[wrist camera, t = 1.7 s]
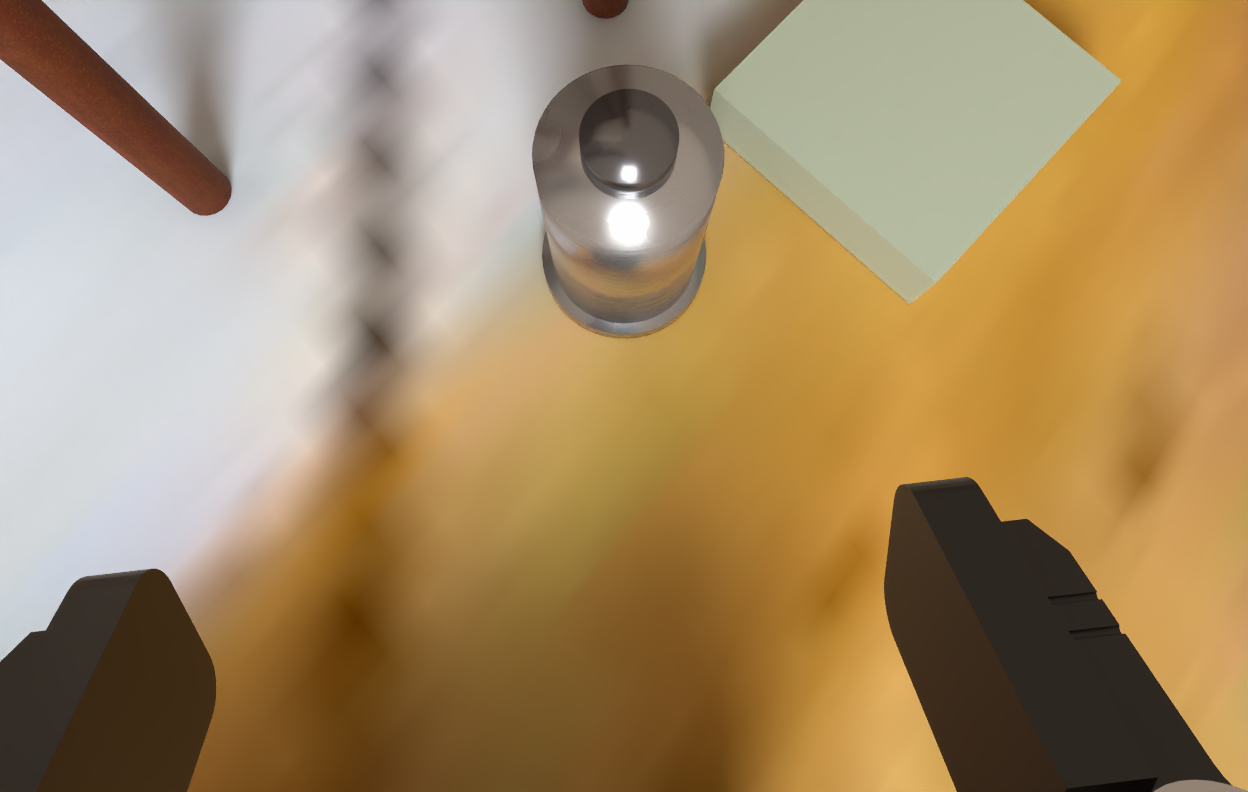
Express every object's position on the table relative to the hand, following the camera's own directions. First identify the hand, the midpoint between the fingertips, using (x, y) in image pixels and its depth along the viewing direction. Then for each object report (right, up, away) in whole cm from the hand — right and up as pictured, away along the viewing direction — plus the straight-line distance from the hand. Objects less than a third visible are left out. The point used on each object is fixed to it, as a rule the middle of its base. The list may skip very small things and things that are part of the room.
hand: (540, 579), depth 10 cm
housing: (+1, +8, +26) cm, 27 cm away
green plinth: (+12, +13, +27) cm, 33 cm away
